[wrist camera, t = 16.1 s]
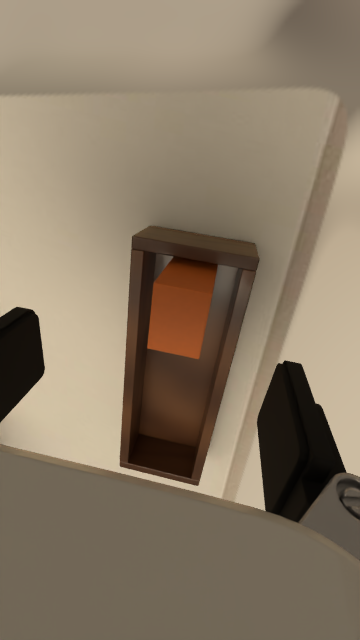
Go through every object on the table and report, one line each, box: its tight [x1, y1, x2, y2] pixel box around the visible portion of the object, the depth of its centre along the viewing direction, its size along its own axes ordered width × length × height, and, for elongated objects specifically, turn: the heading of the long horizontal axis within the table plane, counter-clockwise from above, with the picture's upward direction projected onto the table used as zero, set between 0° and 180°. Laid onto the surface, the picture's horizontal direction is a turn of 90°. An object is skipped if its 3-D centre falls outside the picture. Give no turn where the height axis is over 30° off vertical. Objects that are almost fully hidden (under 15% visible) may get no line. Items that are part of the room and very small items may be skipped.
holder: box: [120, 226, 259, 486], centre depth 24 cm, size 22×8×4 cm, turn 172°
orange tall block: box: [147, 257, 218, 359], centre depth 18 cm, size 3×4×7 cm
